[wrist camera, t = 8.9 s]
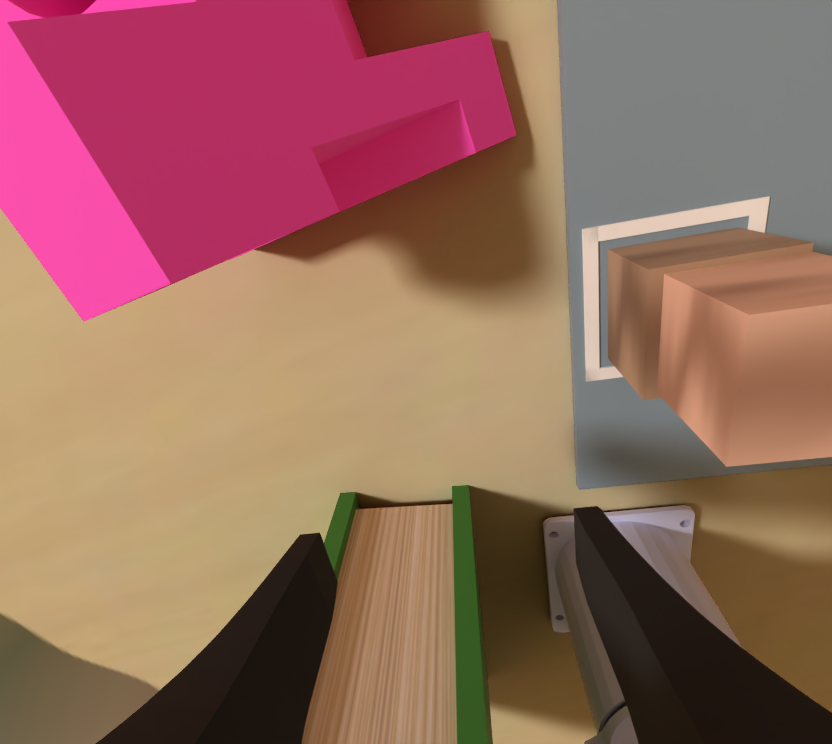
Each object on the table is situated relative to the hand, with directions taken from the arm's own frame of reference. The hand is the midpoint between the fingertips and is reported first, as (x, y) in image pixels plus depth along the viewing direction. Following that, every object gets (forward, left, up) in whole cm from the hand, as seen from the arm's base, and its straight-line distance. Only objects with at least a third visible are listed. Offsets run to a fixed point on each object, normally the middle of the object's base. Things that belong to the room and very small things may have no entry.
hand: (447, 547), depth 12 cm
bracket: (+14, +3, -11) cm, 18 cm away
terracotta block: (+3, -10, -6) cm, 12 cm away
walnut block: (+3, -10, -10) cm, 14 cm away
